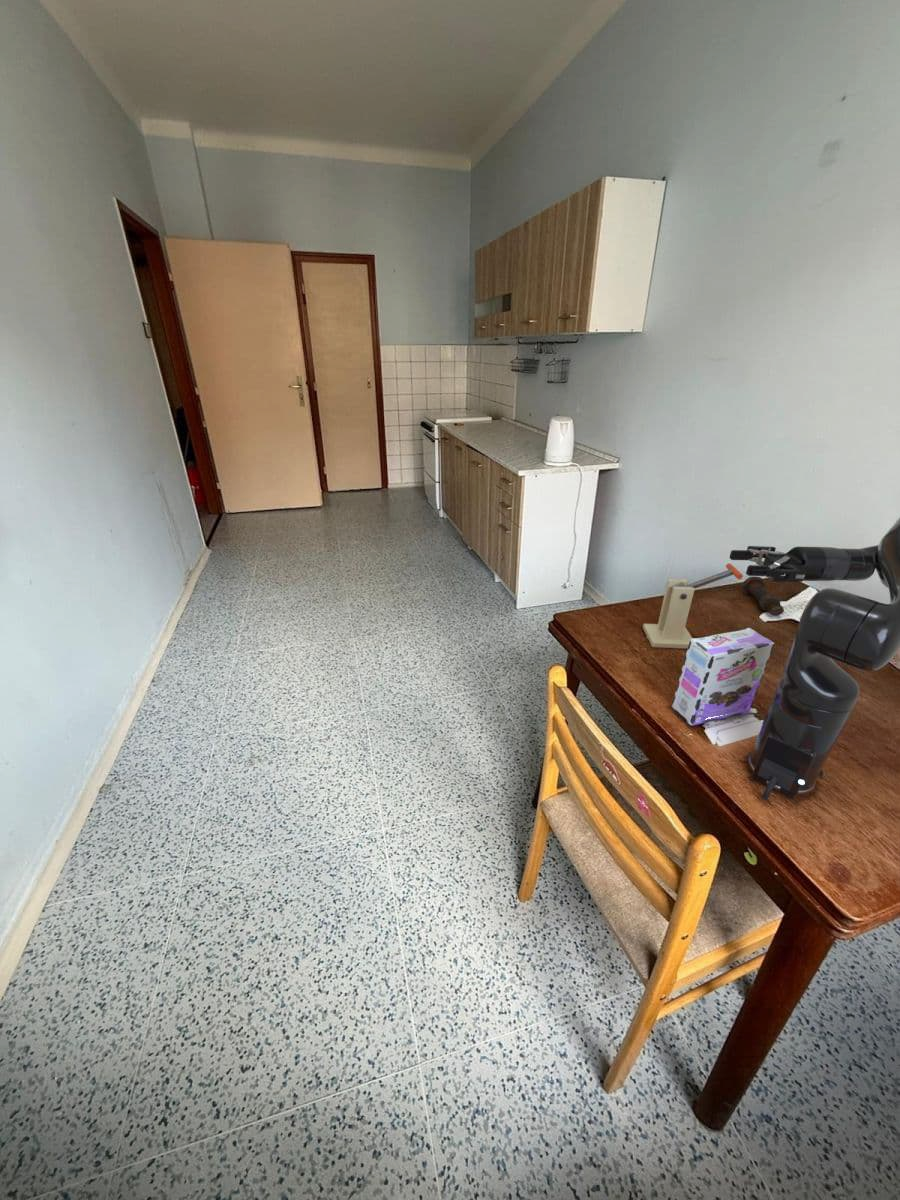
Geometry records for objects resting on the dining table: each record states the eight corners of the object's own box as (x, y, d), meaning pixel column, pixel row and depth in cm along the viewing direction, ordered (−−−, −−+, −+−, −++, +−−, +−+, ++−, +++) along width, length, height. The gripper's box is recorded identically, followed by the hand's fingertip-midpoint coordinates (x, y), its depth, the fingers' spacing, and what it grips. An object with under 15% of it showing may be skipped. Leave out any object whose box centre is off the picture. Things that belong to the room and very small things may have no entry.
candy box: (690, 727, 89) (712, 655, 81) (670, 707, 94) (688, 637, 86) (750, 713, 92) (777, 642, 84) (727, 694, 97) (750, 625, 89)
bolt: (770, 623, 124) (745, 595, 137) (791, 616, 122) (763, 588, 135) (764, 607, 122) (739, 580, 134) (785, 599, 120) (758, 572, 133)
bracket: (683, 629, 119) (696, 576, 112) (695, 649, 111) (711, 593, 104) (642, 627, 120) (653, 575, 113) (652, 647, 112) (664, 592, 105)
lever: (732, 569, 109) (730, 560, 108) (744, 580, 104) (741, 571, 103) (670, 591, 113) (667, 583, 112) (678, 603, 108) (676, 594, 107)
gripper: (803, 536, 108) (729, 535, 109) (843, 561, 95) (758, 559, 97) (793, 566, 111) (721, 564, 113) (829, 594, 99) (748, 592, 101)
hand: (738, 562), depth 105 cm, fingers open, 8 cm apart
